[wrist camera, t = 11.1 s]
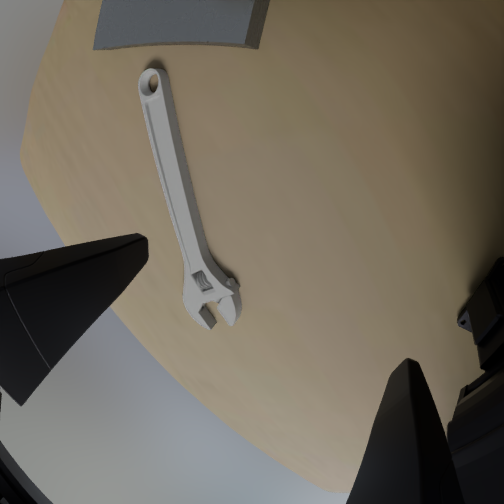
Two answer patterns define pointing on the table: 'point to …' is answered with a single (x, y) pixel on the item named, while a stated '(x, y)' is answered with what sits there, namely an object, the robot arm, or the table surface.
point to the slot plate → (180, 23)
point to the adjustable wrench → (185, 208)
